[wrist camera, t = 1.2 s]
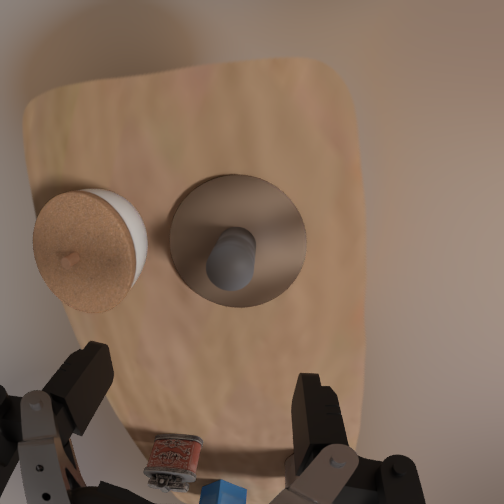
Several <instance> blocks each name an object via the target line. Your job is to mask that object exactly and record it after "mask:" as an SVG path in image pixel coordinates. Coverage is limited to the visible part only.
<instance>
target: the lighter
mask: <svg viewBox="0 0 504 504" xmlns="http://www.w3.org/2000/svg"><path fill="white" fill-rule="evenodd" d="M154 442H155V443H154V446H153V449H152V452H151V455H150V458H149V461H148V464H147V467H145V469H144V474H145V475H146V476H147V477H150V479H149V481H148V484H147V485H148V486H149V487H150V488H155V489H160V490H161V491H162V492H168V491H170V490H172V491H175V492H187V491H188V489H189V484H187V483H184V482H195V480H196V469H197V464H198V460H199V455H200V450H201V448H202V446H203V440H202V439H201V438H200V437H198V436H194V435H185V434H162V435H156V437H155V440H154Z"/></svg>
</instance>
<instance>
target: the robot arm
mask: <svg viewBox="0 0 504 504" xmlns="http://www.w3.org/2000/svg"><path fill="white" fill-rule="evenodd" d="M113 378H114V371H113V366H112V361H111V357H110V352H109V347H108V345H106V344H103V343H99V342H95V341H90V342H89V343H88V344H87V345H86V346H85V348H84V349H83V350H81V349H79V350H77V351H76V352H74V353H72V354H71V355H70V356H69V357H68V358H67V359H66V361H65V362H64V364H62V365H61V367H60V368H59V370H57V372H56V373H55V374H54V375H53V377H52V378H51V379H50V381H49V382H48V383H47V384H46V385H45V387H44V388H43V389H42V390H34V391H31V392H28V393H27V394H25V395H24V396H23V397H17V396H10V395H8V394H7V392H6V390H5V388H4V387H3V386H1V385H0V497H1V495H2V493H3V491H4V488H5V487H6V484H7V482H8V480H9V478H10V476H11V474H12V472H13V471H14V469H15V467H16V465H17V463H18V461H20V468H21V474H22V480H23V486H24V491H25V496H26V500H27V504H155V503H152V502H150V501H148V500H146V499H144V498H142V497H140V496H138V495H136V494H135V493H133V492H131V491H129V490H127V489H124V488H121V487H118V486H114V485H112V484H109V483H106V482H103V481H100V484H99V486H98V487H96V486H95V487H94V486H88V487H87V486H86V484H85V482H84V480H83V478H82V476H81V473H80V470H79V467H78V463H77V460H76V457H75V453H74V450H73V445H72V442H71V439H70V437H71V435H72V433H75V434H77V435H80V436H82V435H83V434H84V432H85V430H86V428H87V426H88V424H89V422H90V421H91V419H92V417H93V416H94V414H95V412H96V410H97V408H98V407H99V405H100V403H101V401H102V400H103V398H104V396H105V395H106V393H107V391H108V389H109V388H110V386H111V384H112V382H113ZM291 414H292V429H293V445H294V454H293V455H291V456H290V457H289V458H287V460H286V461H285V489H284V490H282V491H281V492H280V493H279V494H278V495H277V496H276V497H275V498H274V499H273V500H272V501H271V502H270V503H269V504H426V503H425V499H424V495H423V491H422V487H421V483H420V480H419V476H418V473H417V470H416V466H415V464H414V462H413V461H412V460H411V459H410V458H408V457H406V456H403V455H392V456H389V457H387V458H386V459H385V460H384V461H383V462H382V461H376V460H370V459H365V458H362V457H360V456H358V455H357V453H356V452H355V451H354V450H353V449H352V448H350V447H349V444H348V441H347V436H346V432H345V427H344V423H343V419H342V415H341V410H340V407H339V402H338V397H337V395H336V393H335V392H334V391H333V390H332V388H331V387H330V386H321V383H320V378H319V374H314V373H300V374H299V376H298V380H297V384H296V388H295V391H294V395H293V399H292V407H291Z"/></svg>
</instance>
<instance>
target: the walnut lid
mask: <svg viewBox="0 0 504 504" xmlns="http://www.w3.org/2000/svg"><path fill="white" fill-rule="evenodd" d="M306 249H307V238H306V230H305V226H304V223H303V220H302V217H301V215H300V213H299V211H298V210H297V208H296V206H295V205H294V203H293V202H292V201H291V199H290V198H289V197H288V196H287V195H286V194H285V193H284V192H283V191H281V190H280V189H279V188H277V187H276V186H274V185H273V184H271V183H269V182H267V181H265V180H262V179H260V178H256V177H252V176H247V175H228V176H222V177H218V178H215V179H212V180H210V181H208V182H206V183H204V184H202V185H200V186H199V187H197V188H196V189H195V190H193V191H192V192H191V193H190V194H189V195H188V196H187V197H186V198H185V199H184V200H183V202H182V203H181V205H180V206H179V207H178V209H177V211H176V213H175V215H174V218H173V221H172V225H171V230H170V250H171V255H172V259H173V262H174V264H175V267H176V269H177V271H178V273H179V274H180V276H181V277H182V279H183V280H184V281H185V282H186V284H187V285H188V286H189V287H190V288H191V289H192V290H194V291H195V292H196V293H197V294H199V295H200V296H202V297H203V298H205V299H207V300H209V301H211V302H214V303H216V304H219V305H223V306H228V307H240V308H243V307H252V306H257V305H260V304H263V303H266V302H268V301H270V300H272V299H274V298H276V297H277V296H279V295H280V294H282V293H283V292H284V291H285V290H287V289H288V288H289V286H290V285H291V284H292V283H293V282H294V280H295V279H296V278H297V276H298V274H299V272H300V270H301V268H302V266H303V263H304V260H305V256H306Z"/></svg>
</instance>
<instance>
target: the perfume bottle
mask: <svg viewBox="0 0 504 504" xmlns="http://www.w3.org/2000/svg"><path fill="white" fill-rule="evenodd" d="M246 494H247V489H244V488H242V487H239V486H236V485H234V484H231V483H229V482H226V481H224V480H218V481H216V482H213V483H211V484H208V485H206V486H203V487H202V490H201V496H200V501H199V504H246Z"/></svg>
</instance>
